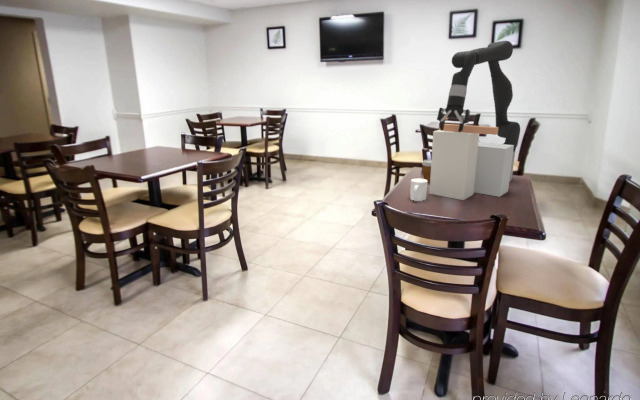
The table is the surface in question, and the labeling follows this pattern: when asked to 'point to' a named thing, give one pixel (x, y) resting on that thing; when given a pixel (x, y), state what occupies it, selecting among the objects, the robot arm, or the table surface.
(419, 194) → the mug
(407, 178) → the table surface
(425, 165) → the disposable coffee cup
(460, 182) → the stepped stand
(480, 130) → the terracotta bar
